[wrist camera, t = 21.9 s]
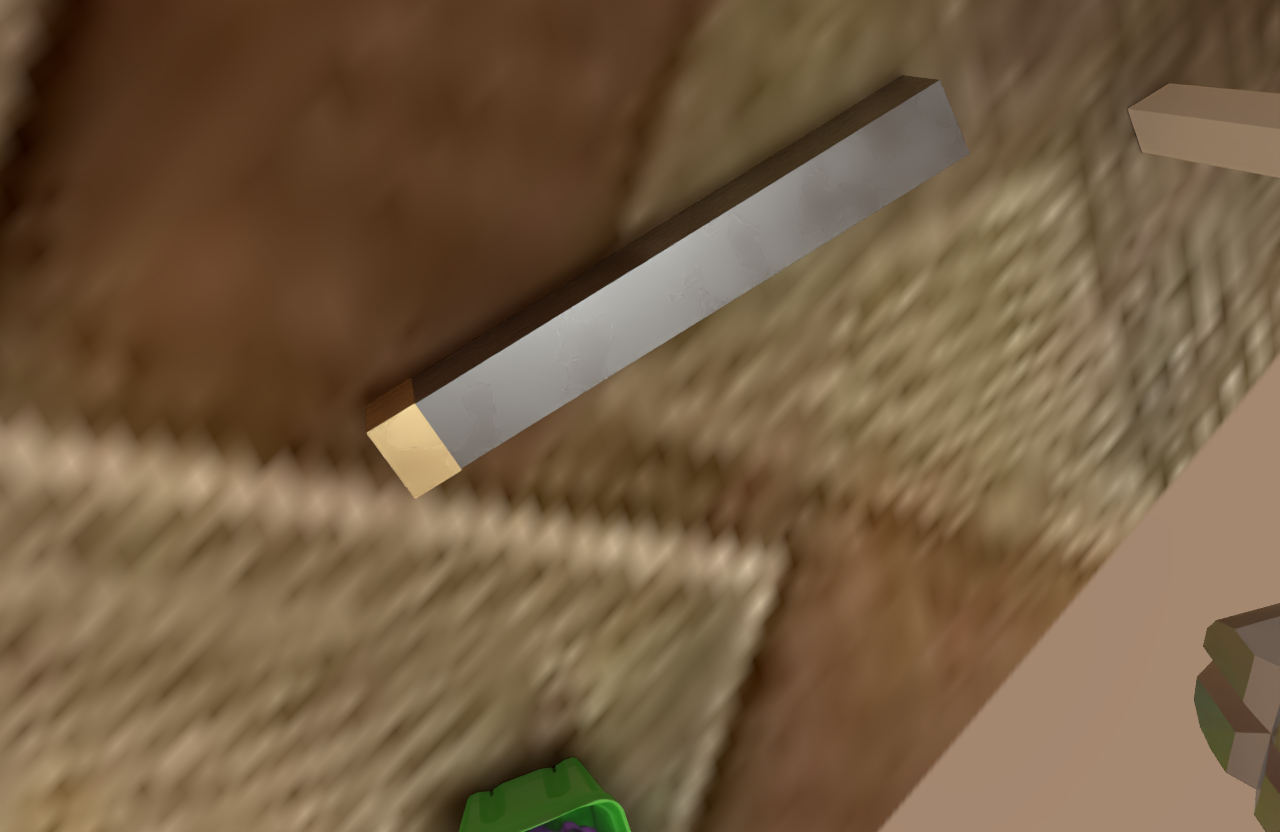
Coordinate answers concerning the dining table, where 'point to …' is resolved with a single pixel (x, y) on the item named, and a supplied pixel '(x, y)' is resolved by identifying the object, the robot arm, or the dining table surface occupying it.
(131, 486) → the dining table surface
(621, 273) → the pin
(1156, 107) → the pin stand
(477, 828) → the fruit basket
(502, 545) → the dining table surface
